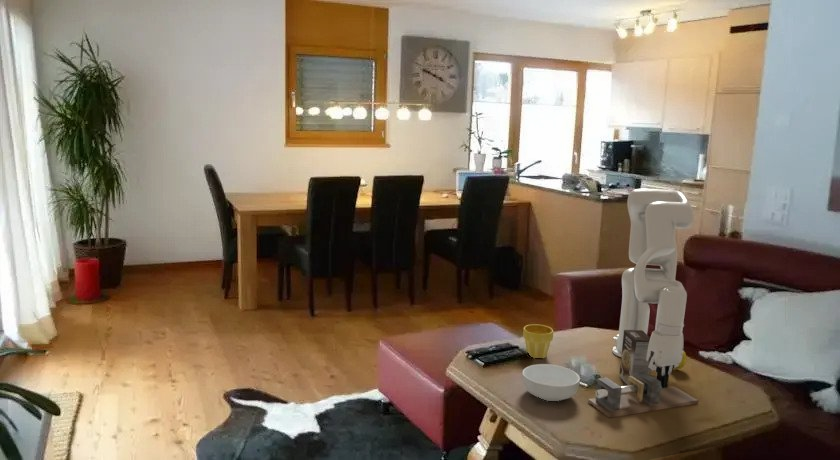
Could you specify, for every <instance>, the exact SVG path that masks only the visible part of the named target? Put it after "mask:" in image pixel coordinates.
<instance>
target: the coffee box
mask: <svg viewBox="0 0 840 460" xmlns="http://www.w3.org/2000/svg"><path fill="white" fill-rule="evenodd" d="M650 337H651V336H649V334H648V333H647V334H646V333H645V332H644V331H642V330H624V336H623V345H622V355H621V357H620V363H619V364H620V365H619V375H618V376H619V378H620V379H621V380H622V381H623V382H624V383H625V385H626V386H627V385H628V378H629V376H633V377H634V378H636V375H637V373H642V372H645V373H647V374H649V375H651V369H649V364H650V362H647V361H646V356H647V350H648V345H649V341H650ZM633 385H634V383H633Z"/></svg>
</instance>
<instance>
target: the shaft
mask: <svg viewBox="0 0 840 460" xmlns="http://www.w3.org/2000/svg"><path fill="white" fill-rule="evenodd" d="M655 378H656V379H657V377H655ZM657 380H658V379H657ZM620 387H622V390H621V395H625V394H631V393H637V391H638V386H637V385H636V384H634V385H627V384H626V385H622V386H620ZM647 387H648V384H646V383H644V389H643V392H645V391H647ZM660 391H661V386H660ZM594 394H595V398H596V397H597V398H605V397H608V390H607V389H600V390H597V389H596V390H595V393H594Z"/></svg>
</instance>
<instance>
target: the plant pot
mask: <svg viewBox="0 0 840 460" xmlns="http://www.w3.org/2000/svg"><path fill="white" fill-rule="evenodd" d="M522 331H523V332H522V337H523V339H524V342H525V349H526V353H527V352H528V353H529V355H530V356H531V357H533V359H535V358H543V359H546V357H547V355H548V351H549V349H550V344H551V342H552V341H553V338H554V330H553V328H552V327H550V326H548V325H545V324H537V323H535V324H534V323H533V324H526V325H525V326H524V327H523V330H522ZM531 357H530V358H531Z"/></svg>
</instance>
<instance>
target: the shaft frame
mask: <svg viewBox="0 0 840 460" xmlns="http://www.w3.org/2000/svg"><path fill="white" fill-rule="evenodd" d="M656 378H657V377H654V376H652V375H651V374H650V375H649V374H647V373H645V372H642V373H637V375H636V378H634V377H633V376H629V378H628V385H633V383H634V384H636V385H637V386H638V391H637V393H631V394H625V395H621V390H622V387H621V386H620V384H617V383H616V382H614V381H613V380H611V379H610V378H608V377H601V378H597V383H596V390H600V389H607V390H608V397H605V398H597V397H596V396H595V397H593V398H588V400H587V402H589V404H590V405H591V404H592V405H593V408H595V407H596V408H597V409H596V408H595V409H596V410H598V411H599V410H600V411H599V412H601V413H602V414H603V413H604V414H603V415H604V416H606V417H607V416H608V417H607V418H609V419H611V418H610V417H612V418H617V417H624V416H629V415H634V414H635V415H636V414H641V413H647V412H653V411H659V410H664V409H665V410H666V409H671V408H672V409H673V408H678V407H683V406H689V405H695V404H698V401H699V400H698V399H696V398H695V397H693V396H692V395H690V394H688V393H686V392H685V391H682V390H681V389H679V388H678V387H676V386H674V385H671V386H668V387H667V388H661V391H660V386H661V381H659V380H657V379H656ZM644 383H646V384H648V387H647V391H645V392H643V389H644ZM592 405H591V406H592Z"/></svg>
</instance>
